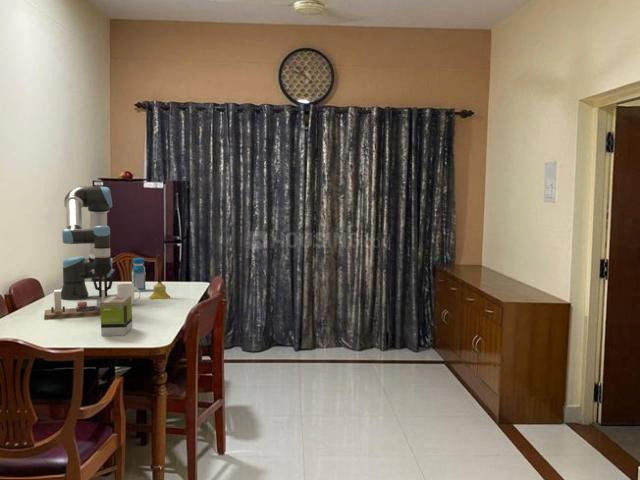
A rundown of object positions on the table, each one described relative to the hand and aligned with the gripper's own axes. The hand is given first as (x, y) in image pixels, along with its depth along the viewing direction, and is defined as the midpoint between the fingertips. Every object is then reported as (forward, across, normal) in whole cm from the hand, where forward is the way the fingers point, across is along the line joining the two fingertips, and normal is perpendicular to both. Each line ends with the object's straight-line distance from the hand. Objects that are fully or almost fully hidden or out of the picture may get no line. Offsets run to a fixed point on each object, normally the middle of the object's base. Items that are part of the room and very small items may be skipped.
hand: (103, 303), depth 300 cm
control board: (+5, -9, 0) cm, 10 cm away
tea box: (+5, +3, -47) cm, 47 cm away
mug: (+5, +14, +20) cm, 25 cm away
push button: (+1, -10, 0) cm, 10 cm away
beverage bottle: (+5, +25, +66) cm, 71 cm away
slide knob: (+3, -2, 0) cm, 3 cm away
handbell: (+5, +33, +35) cm, 49 cm away
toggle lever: (+2, -21, 0) cm, 21 cm away
